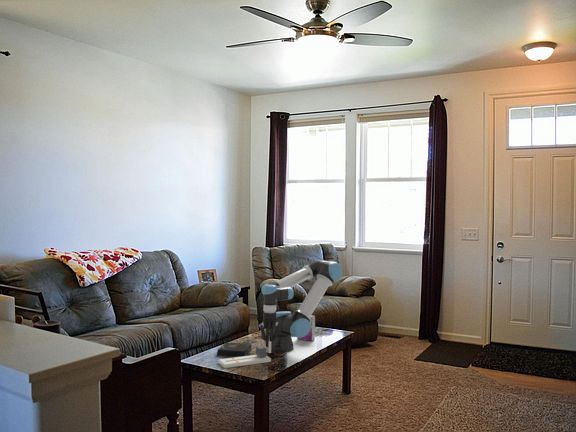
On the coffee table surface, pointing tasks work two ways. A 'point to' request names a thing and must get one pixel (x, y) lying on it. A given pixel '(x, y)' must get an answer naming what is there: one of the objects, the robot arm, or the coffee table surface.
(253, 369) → the coffee table surface
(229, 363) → the board
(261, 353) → the fader knob
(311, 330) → the candy bar box
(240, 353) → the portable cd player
